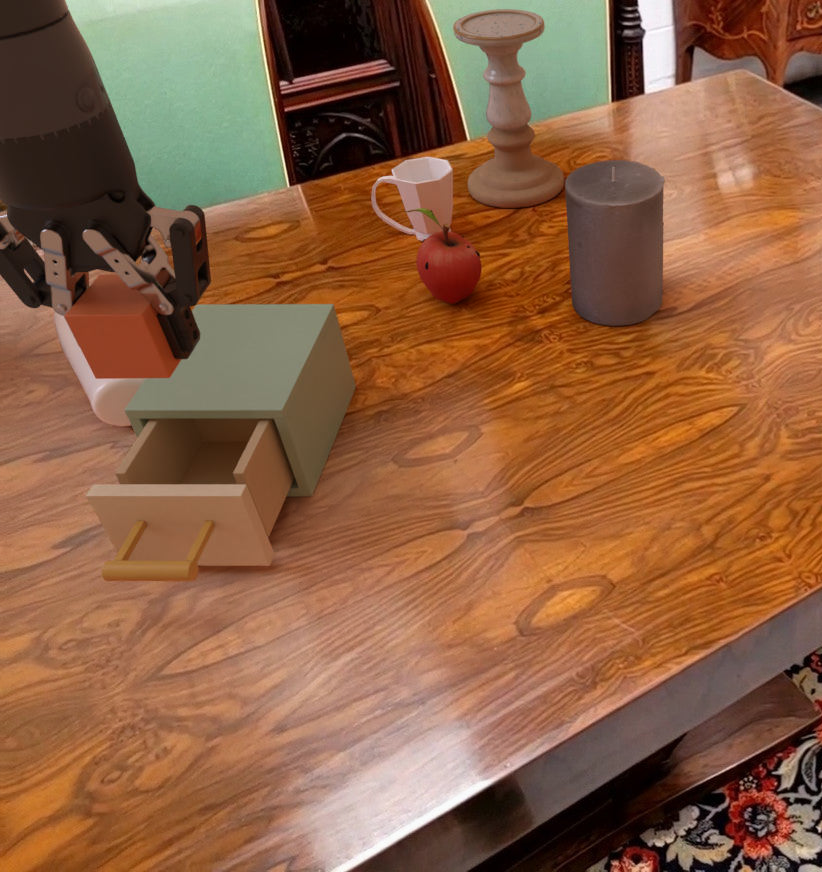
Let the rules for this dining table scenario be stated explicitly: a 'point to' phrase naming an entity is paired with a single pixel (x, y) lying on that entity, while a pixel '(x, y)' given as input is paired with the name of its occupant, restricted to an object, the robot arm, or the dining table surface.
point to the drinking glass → (97, 380)
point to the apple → (448, 264)
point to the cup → (421, 194)
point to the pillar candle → (615, 241)
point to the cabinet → (261, 379)
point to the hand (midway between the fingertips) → (145, 352)
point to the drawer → (194, 498)
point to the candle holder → (508, 113)
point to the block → (120, 332)
